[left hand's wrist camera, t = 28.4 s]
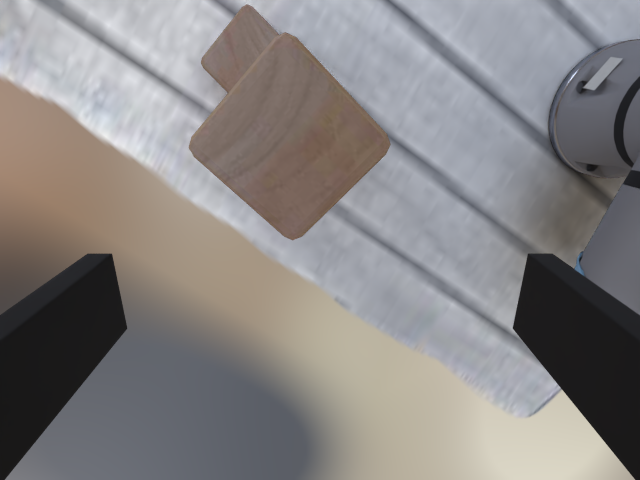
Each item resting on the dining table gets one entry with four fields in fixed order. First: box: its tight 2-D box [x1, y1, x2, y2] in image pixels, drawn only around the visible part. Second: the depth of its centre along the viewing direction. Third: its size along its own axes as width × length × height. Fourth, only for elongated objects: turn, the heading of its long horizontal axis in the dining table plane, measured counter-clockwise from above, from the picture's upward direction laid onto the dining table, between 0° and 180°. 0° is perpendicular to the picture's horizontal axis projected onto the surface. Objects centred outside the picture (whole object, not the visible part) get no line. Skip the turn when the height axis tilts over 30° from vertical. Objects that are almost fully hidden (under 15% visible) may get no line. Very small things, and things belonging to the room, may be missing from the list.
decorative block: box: [189, 5, 390, 240], centre depth 32 cm, size 8×15×30 cm, turn 46°
